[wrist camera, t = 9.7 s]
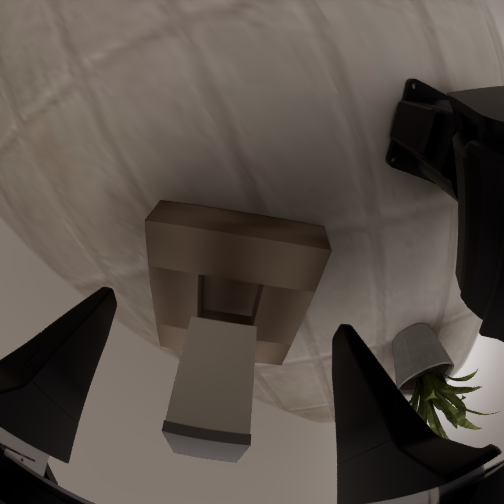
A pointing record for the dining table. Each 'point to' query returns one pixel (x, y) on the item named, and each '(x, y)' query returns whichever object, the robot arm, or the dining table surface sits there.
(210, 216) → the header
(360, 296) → the dining table surface
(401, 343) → the house plant
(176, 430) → the plug
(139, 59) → the dining table surface
